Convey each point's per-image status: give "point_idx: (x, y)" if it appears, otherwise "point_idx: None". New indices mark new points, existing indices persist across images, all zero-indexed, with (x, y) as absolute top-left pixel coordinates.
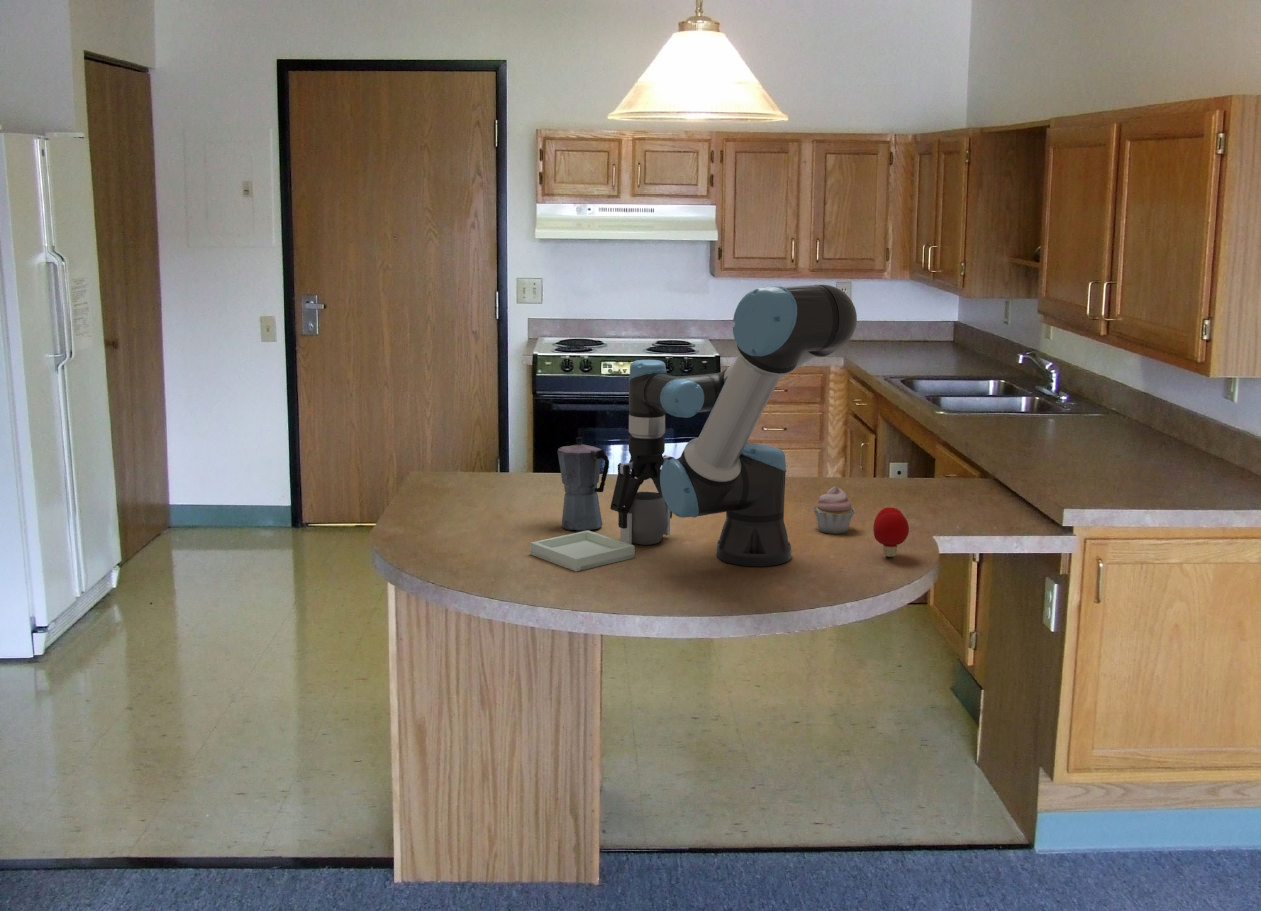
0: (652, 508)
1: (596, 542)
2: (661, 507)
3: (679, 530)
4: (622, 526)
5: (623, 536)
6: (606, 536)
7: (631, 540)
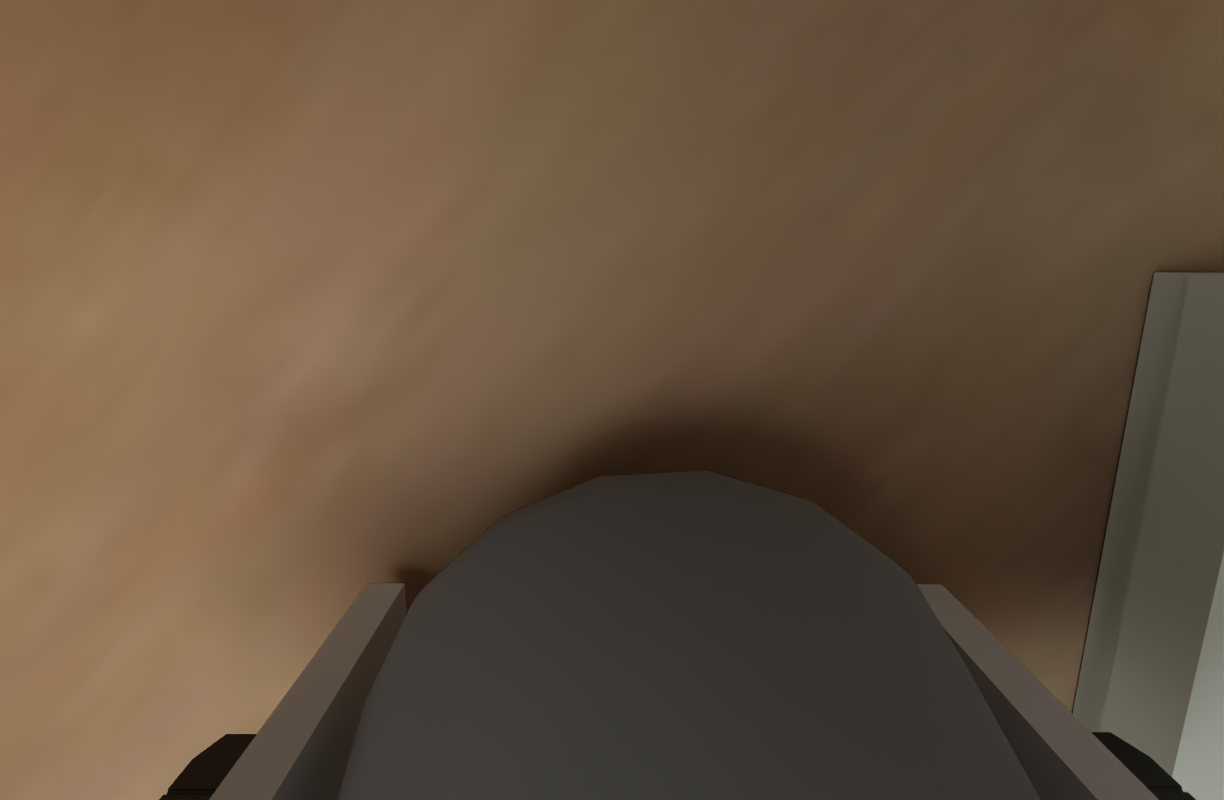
0: (911, 769)
1: None
2: (619, 739)
3: (123, 705)
4: (1149, 760)
5: None
6: (1174, 766)
7: None
